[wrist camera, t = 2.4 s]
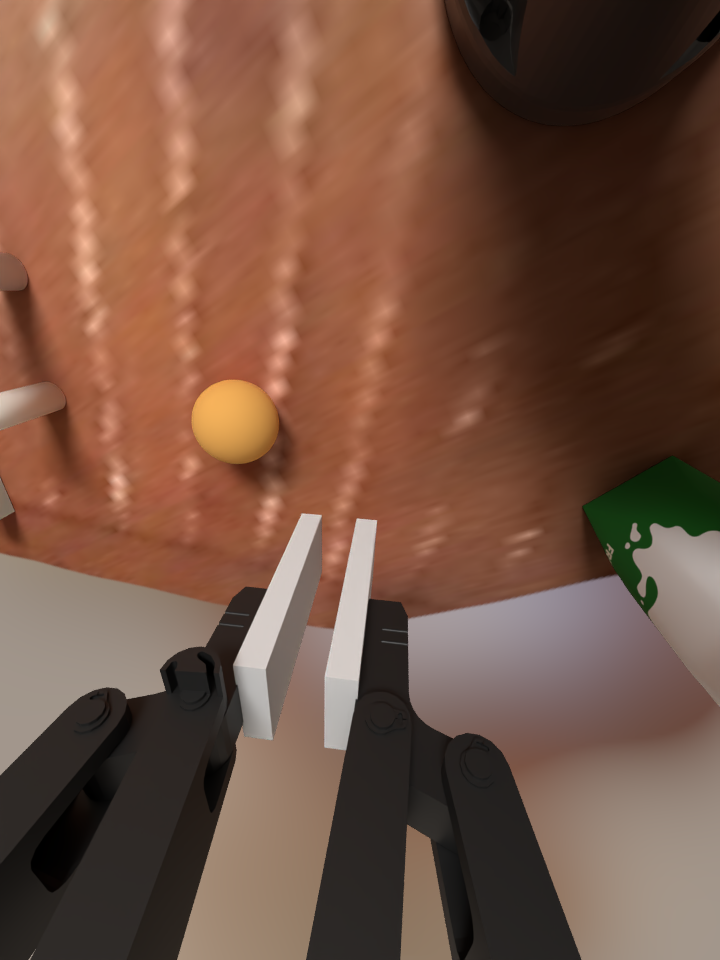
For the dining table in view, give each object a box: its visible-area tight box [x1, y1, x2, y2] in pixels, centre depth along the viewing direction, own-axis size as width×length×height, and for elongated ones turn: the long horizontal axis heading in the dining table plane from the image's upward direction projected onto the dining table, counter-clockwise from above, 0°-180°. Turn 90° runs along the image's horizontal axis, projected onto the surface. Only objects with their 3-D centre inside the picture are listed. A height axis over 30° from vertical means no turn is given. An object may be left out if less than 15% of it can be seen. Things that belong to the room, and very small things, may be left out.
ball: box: [192, 380, 279, 464], centre depth 27 cm, size 6×6×6 cm
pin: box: [0, 382, 66, 430], centre depth 27 cm, size 2×2×8 cm
